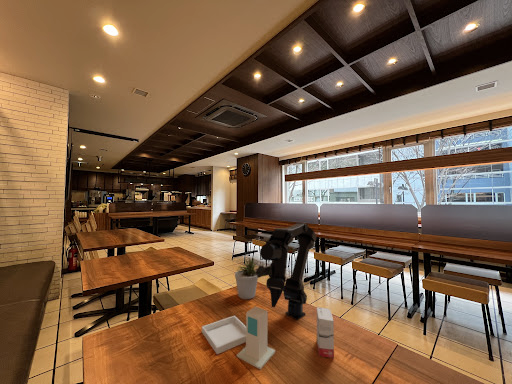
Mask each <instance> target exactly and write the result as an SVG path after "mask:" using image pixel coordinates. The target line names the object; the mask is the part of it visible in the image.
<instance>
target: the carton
mask: <svg viewBox="0 0 512 384" xmlns="http://www.w3.org/2000/svg"><path fill="white" fill-rule="evenodd" d="M245 315H246V319H245V320H246V321H245V324H246V325H245V326H246V342H245V347H246V354H247V355H249V356H251V357H253V358H255V359H257V360H260V359H261V358H262V357H263V356H264V354H265V353H266V352H267V346H268V326H269V325H268V324H269V323H268V310H266V309H265V308H262V307H259V306H257V305H256V306H254V307H252V308H251V309H249V310H247V312H246V314H245Z"/></svg>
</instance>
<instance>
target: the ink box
mask: <svg viewBox="0 0 512 384" xmlns="http://www.w3.org/2000/svg"><path fill="white" fill-rule="evenodd" d="M334 324H335V322H334V318H333V314H332V311H331V308H326V307H325V308H324V307H316V344H317V351H318V356H319V357H323V358H331V359H334V358H335V341H334V339H335V337H334V336H335V335H334V334H335V333H334V332H335V330H334V326H335V325H334Z"/></svg>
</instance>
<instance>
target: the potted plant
mask: <svg viewBox="0 0 512 384" xmlns="http://www.w3.org/2000/svg"><path fill="white" fill-rule="evenodd" d="M254 260H255V258H252V259H251V257H248V259H246V258H244V261H245V262H246V263H244V262H242V263H243V264H244V265H243V264H242V265H243V266H241V265H239V266H238V267H237V269H236V272H235V273H234V277H235V278H234V279H235V283H236V289H237V296H238V298H240V299H242V300H251V299H253V298H255V296H256V293H257V292H256V291H257V285H258V280H259V278H257V274H256V269H255V266H256V265H257V264H258V263H259V261H258V262H257V263H254V262H255V261H254Z"/></svg>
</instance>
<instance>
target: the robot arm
mask: <svg viewBox="0 0 512 384" xmlns="http://www.w3.org/2000/svg"><path fill="white" fill-rule="evenodd" d="M294 238H297V243H298V251H297V255H296V258H295V262H294V266H293V270H292V273H291V276H290V277H287V276H286V271H287V264H288V263H287V262H288V254H289V253H288V252H289V251H290V250H291V248H290V246H289V245H290V244H291V243H292V242H293V241H294ZM316 241H317V234H316V232H315V231H314V229H313V228H311V227H310V226H309V225H308V224H307V223H305V222H297V223H295V224H293V225H291V226H288V227H286V228H285V227H282V228H280V227H279V228H278V227H276V228H275V229H274V230H273V232H272V233H271V235H270V237H269V238H268V240H266V241H265V244H263V245H262V246H261V248H260V250H259V253H260V257H261V259H262V260H264V261H271V262H270V265H268V266H267V265H266V266H264V265H258V268H256V269H255V270H256V274H257V278H258V279H259V278H262V277H266V276H268V278H267V279H266V284H265V285H266V288H267V289H268V290H269V292H270V300H271V301H270V302H271V303H270V305H271V308H275V307H276V306H277V303H279V300H280V297H281V296H282V294H283V297H284V298H283V299H284V300H286V301H287V303H288V305H287V311H286V312H285V315H287V316H289V317H290V318H293V319H295V320H296V321H297V320H300V319H301V318H302V317H304V316H306V312H304V311H303V309H304V308H303V305H306V304H307V300H308V295H307V293H306V292H305V285H304V282H303V278H304V273H305V269H306V266H307V265H306V264H307V260H308V256H309V253H310V250H312V248H313V247H314V246H315V243H316Z"/></svg>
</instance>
